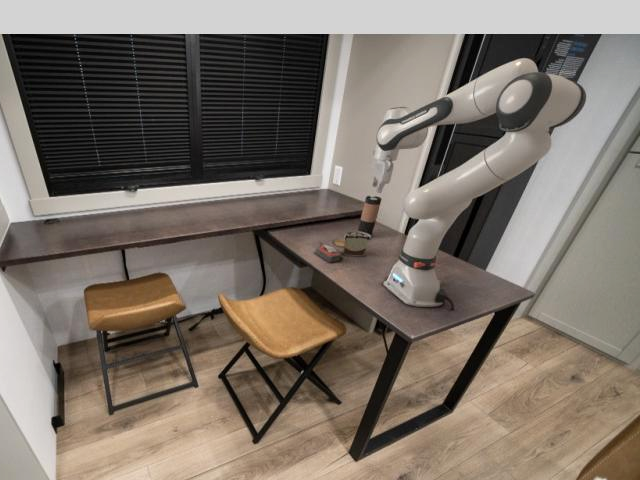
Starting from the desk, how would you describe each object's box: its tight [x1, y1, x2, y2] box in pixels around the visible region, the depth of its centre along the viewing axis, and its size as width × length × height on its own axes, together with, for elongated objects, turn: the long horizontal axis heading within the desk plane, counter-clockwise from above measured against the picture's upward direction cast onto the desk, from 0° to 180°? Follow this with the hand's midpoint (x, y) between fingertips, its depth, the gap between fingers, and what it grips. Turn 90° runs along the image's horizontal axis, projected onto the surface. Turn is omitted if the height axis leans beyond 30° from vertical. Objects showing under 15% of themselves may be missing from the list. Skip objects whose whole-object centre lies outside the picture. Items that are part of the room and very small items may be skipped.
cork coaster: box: [333, 238, 345, 248], centre depth 157 cm, size 9×9×1 cm
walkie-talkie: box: [315, 241, 344, 263], centre depth 145 cm, size 9×4×20 cm
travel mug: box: [357, 195, 382, 236], centre depth 161 cm, size 8×8×20 cm
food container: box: [342, 230, 372, 257], centre depth 145 cm, size 12×6×10 cm, turn 84°
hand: (376, 189), depth 132 cm, fingers open, 8 cm apart
